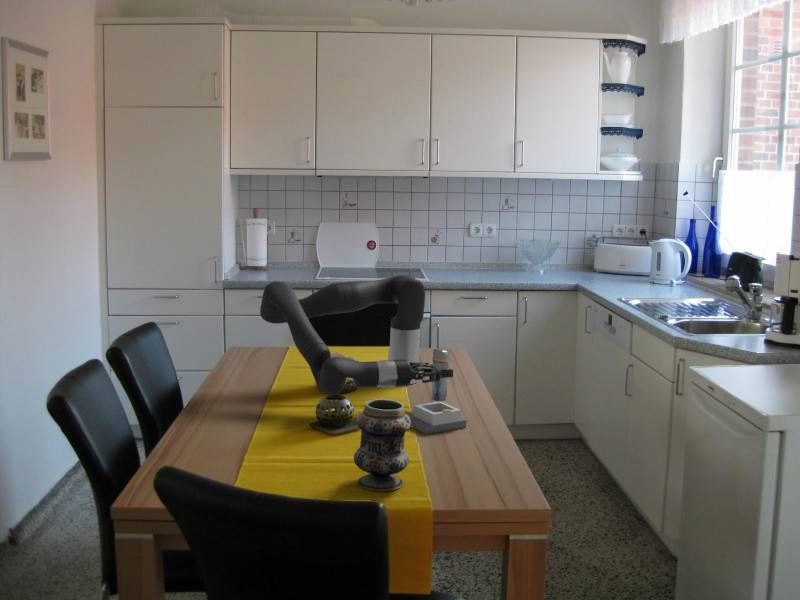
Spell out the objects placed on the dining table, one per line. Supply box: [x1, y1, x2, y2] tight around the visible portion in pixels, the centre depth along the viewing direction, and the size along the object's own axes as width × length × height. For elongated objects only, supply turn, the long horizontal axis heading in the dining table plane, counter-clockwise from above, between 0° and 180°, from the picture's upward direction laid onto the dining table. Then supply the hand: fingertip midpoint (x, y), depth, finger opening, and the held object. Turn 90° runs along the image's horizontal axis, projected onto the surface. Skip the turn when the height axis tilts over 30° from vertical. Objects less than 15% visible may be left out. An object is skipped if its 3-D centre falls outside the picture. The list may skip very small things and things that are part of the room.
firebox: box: [406, 401, 468, 435], centre depth 235 cm, size 11×13×6 cm
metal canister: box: [430, 348, 450, 402], centre depth 248 cm, size 5×5×14 cm
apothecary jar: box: [353, 398, 411, 492], centre depth 191 cm, size 12×12×18 cm
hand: (449, 370), depth 248 cm, fingers closed on metal canister, 4 cm apart
